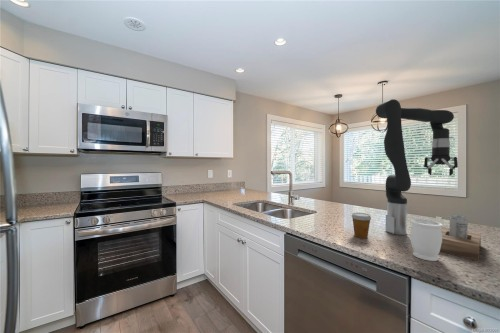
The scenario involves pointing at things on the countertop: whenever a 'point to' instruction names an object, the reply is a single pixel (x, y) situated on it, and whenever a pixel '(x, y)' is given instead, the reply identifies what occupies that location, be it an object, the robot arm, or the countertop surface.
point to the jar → (426, 239)
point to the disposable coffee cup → (361, 224)
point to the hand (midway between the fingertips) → (440, 175)
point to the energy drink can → (458, 226)
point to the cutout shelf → (461, 244)
